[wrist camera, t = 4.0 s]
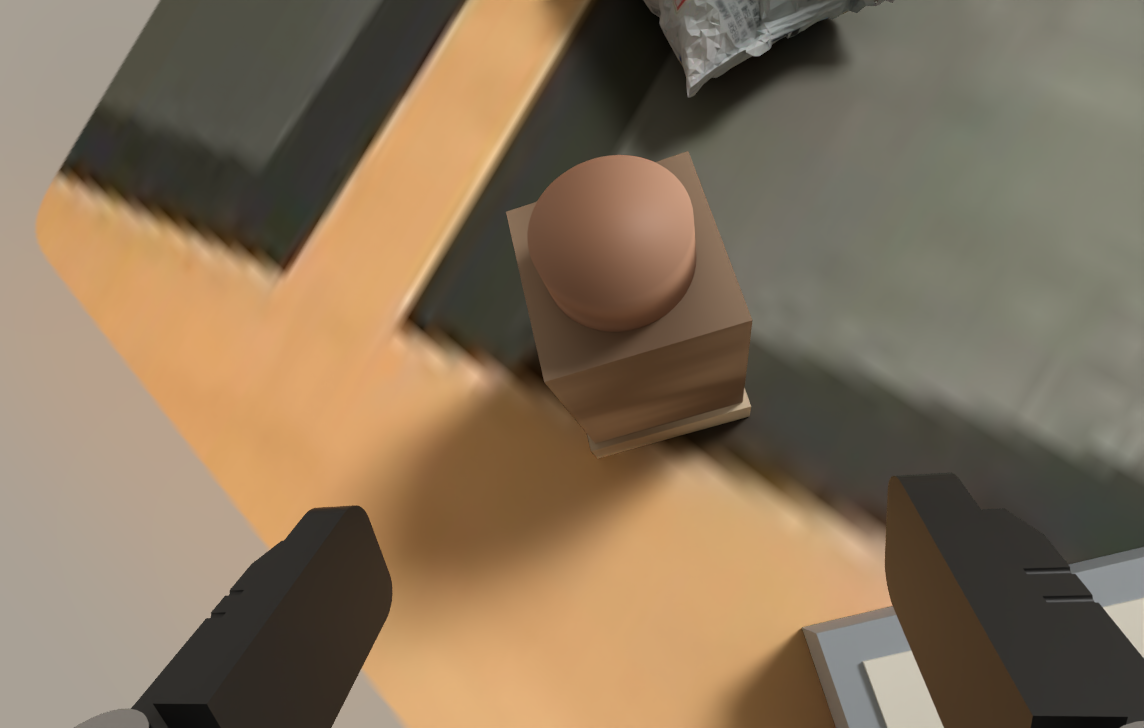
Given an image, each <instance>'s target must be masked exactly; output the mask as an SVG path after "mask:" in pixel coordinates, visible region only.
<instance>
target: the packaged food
mask: <svg viewBox="0 0 1144 728" xmlns="http://www.w3.org/2000/svg"><path fill="white" fill-rule="evenodd" d="M643 1H644V2H645V4H646V5H647V6H648V8H649V9H650V11H651V12H652V13H653V14H655V15H656V16H658V17H659V18H660V21H659V24H660V26H661V29H662V31H663V33H664V35H665V37H666V38H667V40H668V42H669V44H670V46H671V47H672V49H673V51H674V53H675V55H676V57H677V58H678V60H679V61H680V63H681V65H682V66H683V68H684V72H685V75H686V87H687V95H688V98H689V97H692V96H694V95H695V94H696V93H697V92H698V91H699V89H700V88H701V87H702V85H703V84H704V83H706V82H707V81H708V80H709V79H710V78H717V77H719V76H721V75H722V74H724V73H725V72H727V71H728V70H729V69H731V68H732V67H734V66H736V65H738V64H739V63H741V62H743V61H745V60H746V59H748V58H750V57H752V56H760V55H762V54H763V53H765V52H766V51H768V50H769V49H770V48H771V46H772V44H773V43H775V42H776V41H778V40H780V39H782V38H784V37H787V39H788V38H790V37H793V36H795V35H797V34H798V33H800V32H801V31H804V30H805V29H807V28H808V27H809V26H811V25H813V24H814V23H816V22H818V21H821V20H824V19H827V18H830V19H834V18H836V17H838V16H839V15H841V14H844V13H846V12H848V11H852V12H856V13H858V12H859V11H860V10H861V9H862V8H864V7H865V6H876V5H879V4H881V3H882V2H884V1H885V0H643ZM875 1H877V3H875ZM886 1H889V2H891V3H893V1H894V0H886Z"/></svg>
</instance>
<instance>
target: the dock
mask: <svg viewBox="0 0 1144 728" xmlns="http://www.w3.org/2000/svg"><path fill="white" fill-rule="evenodd" d="M1069 566H1070V571H1071V573H1072V574H1076V575H1077V576H1078V577H1079V579H1080V580H1081V581H1082V582H1083V584H1084V585H1085V586H1086V587H1087V589H1088V590H1089V591H1090V592H1091V594H1092V595H1093V600H1094V602H1095V603H1097V602H1099V603H1100V605H1101V606H1102V607H1103V608H1104V610H1105V611H1106V612H1107V613H1108V615H1109V616H1110V617H1111V618H1112V620H1113V621H1114V622H1115V623H1116V625H1117V626H1118V627H1119V628H1120V630H1121V631H1122V632H1123V633H1124V634H1125V636H1126V637H1127V638H1128V639H1129V641H1130V642H1131V643H1132V644H1133V646H1134V647H1135V648H1136V649H1137V651H1138V652H1139V653H1140V654H1141V656H1142V657H1143V658H1144V547H1142V548H1137V549H1133V550H1129V551H1125V552H1120V553H1116V554H1112V555H1108V556H1103V557H1099V558H1095V559H1091V560H1086V561H1082V562H1078V563H1074V564H1069ZM802 630H803V633H804V636H805V638H806V641H807V644H808V647H809V650H810V653H811V656H812V659H813V662H814V665H815V668H816V671H817V674H818V677H819V680H820V683H821V685H822V688H823V691H824V694H825V697H826V700H827V703H828V706H829V709H830V712H831V715H832V718H833V721H834V724H835V727H836V728H944V727H943V725H942V722H941V720H940V718H939V715H938V713H937V710H936V708H935V706H934V703H933V701H932V699H931V696H930V694H929V691H928V689H927V687H926V684H925V682H924V679H923V677H922V675H921V672H920V670H919V668H918V665H917V663H916V660H915V658H914V656H913V653H912V651H911V649H910V646H909V644H908V641H907V639H906V637H905V634H904V632H903V629H902V627H901V625H900V622H899V620H898V618H897V615H896V613H895V610H894V608H893V606H891V607H887V608H882V609H878V610H874V611H870V612H865V613H861V614H857V615H853V616H848V617H844V618H840V619H836V620H831V621H827V622H823V623H819V624H814V625H810V626H806V627H802Z"/></svg>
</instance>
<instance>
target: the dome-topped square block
mask: <svg viewBox="0 0 1144 728" xmlns="http://www.w3.org/2000/svg"><path fill="white" fill-rule="evenodd" d="M506 214H507V218H508V223H509V227H510V232H511V236H512V241H513V245H514V249H515V254H516V258H517V263H518V267H519V272H520V276H521V281H522V285H523V290H524V294H525V299H526V303H527V307H528V312H529V316H530V321H531V325H532V330H533V334H534V339H535V343H536V348H537V352H538V357H539V361H540V365H541V370H542V374H543V379H544V382H545V384H546V385H547V386H548V387H549V388H550V390H551V391H552V392H553V393H554V394H555V396H556V397H557V398H558V399H559V400H560V402H561V403H562V404H563V405H564V406H565V408H566V409H567V410H568V411H569V412H570V414H571V415H572V416H573V417H574V419H575V420H576V421H577V422H578V423H579V425H580V426H581V427H582V428H583V429H584V431H585V432H586V433H587V437H588V441H589V445H590V449H591V452H592V453H593V454H594V455H595V456H596V457H597V459H598V458H602V457H605V456H609V455H613V454H616V453H620V452H623V451H627V450H631V449H634V448H638V447H641V446H645V445H649V444H652V443H656V442H659V441H663V440H666V439H670V438H674V437H677V436H681V435H684V434H688V433H692V432H695V431H699V430H702V429H706V428H710V427H713V426H717V425H720V424H724V423H728V422H731V421H735V420H738V419H742V418H745V417H749V416H750V410H751V405H750V402H749V399H748V396H747V394H746V391H745V388H744V386H745V378H746V370H747V361H748V353H749V344H750V336H751V327H752V318H751V315H750V313H749V310H748V308H747V305H746V302H745V300H744V297H743V294H742V292H741V289H740V286H739V284H738V281H737V278H736V276H735V273H734V271H733V268H732V265H731V263H730V260H729V257H728V255H727V252H726V249H725V247H724V244H723V242H722V239H721V236H720V234H719V231H718V228H717V226H716V223H715V220H714V218H713V215H712V212H711V210H710V207H709V205H708V202H707V199H706V197H705V194H704V191H703V189H702V186H701V183H700V181H699V178H698V176H697V173H696V170H695V168H694V165H693V162H692V160H691V157H690V154H689V152H688V151H687V152H684V153H681V154H678V155H675V156H672V157H669V158H666V159H663V160H660V161H657V162H653V161H651V160H648V159H644V158H641V157H635V156H628V155H613V156H605V157H599V158H595V159H592V160H588V161H586V162H583V163H581V164H579V165H577V166H575V167H573V168H571V169H569V170H568V171H566V172H565V173H563V174H562V175H560V176H559V177H558V178H557V179H556V180H554V181H553V182H552V183H551V184H550V185H549V186H548V187H547V189H546V190H545V191H544V192H543V194H542V195H541V196H540V198H539V200H538V201H537V202H535V203H532V204H529V205H526V206H523V207H520V208H517V209H514V210H511V211H508V212H506Z"/></svg>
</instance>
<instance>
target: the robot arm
mask: <svg viewBox="0 0 1144 728" xmlns="http://www.w3.org/2000/svg"><path fill="white" fill-rule="evenodd" d="M885 572H886V580H887V586H888V590H889V595H890V598H891V602H892V605H893V608H894V610H895V613H896V615H897V618H898V620H899V622H900V625H901V627H902V629H903V632H904V634H905V637H906V639H907V641H908V644H909V646H910V649H911V651H912V653H913V656H914V658H915V660H916V663H917V665H918V668H919V670H920V672H921V675H922V677H923V679H924V682H925V684H926V687H927V689H928V691H929V694H930V696H931V699H932V701H933V703H934V706H935V708H936V710H937V713H938V715H939V718H940V720H941V722H942V725H943V727H944V728H1144V658H1143V657H1142V656H1141V654H1140V653H1139V652H1138V651H1137V649H1136V648H1135V647H1134V646H1133V644H1132V643H1131V642H1130V641H1129V639H1128V638H1127V637H1126V636H1125V634H1124V633H1123V632H1122V631H1121V630H1120V628H1119V627H1118V626H1117V625H1116V623H1115V622H1114V621H1113V620H1112V618H1111V617H1110V616H1109V615H1108V613H1107V612H1106V611H1105V610H1104V608H1103V607H1102V606H1101V605H1100V603H1099V602H1097V603H1095V602H1094V600H1093V595H1092V594H1091V592H1090V591H1089V590H1088V589H1087V587H1086V586H1085V585H1084V584H1083V582H1082V581H1081V580H1080V579H1079V577H1078V576H1077V575H1076V574H1072V573H1071V571H1070V566H1069V565H1068V564H1067V563H1066V561H1065V560H1064V559H1063V558H1062V556H1061V555H1060V554H1059V553H1058V551H1057V550H1056V549H1055V548H1054V546H1053V545H1052V544H1051V543H1050V541H1049V540H1048V539H1047V538H1046V537H1045V535H1044V534H1042V533H1041V532H1039V531H1038V530H1036V529H1035V528H1033V527H1032V526H1030V525H1029V524H1027V523H1026V522H1024V521H1022V520H1021V519H1019V518H1018V517H1016V516H1015V515H1013V514H1012V513H1010V512H1009V511H1007V510H1006V509H987V510H981V509H980V507H979V506H978V505H977V503H976V502H975V500H974V499H973V498H972V496H971V495H970V493H969V492H968V491H967V489H966V488H965V486H964V485H963V484H962V482H961V481H960V479H959V478H958V477H957V476H956V475H955V474H953V473H938V474H920V475H903V476H892V477H891V479H890V481H889V485H888V499H887V522H886V546H885ZM391 602H392V582H391V577H390V574H389V571H388V569H387V566H386V563H385V561H384V558H383V555H382V553H381V550H380V547H379V544H378V542H377V539H376V536H375V534H374V531H373V528H372V526H371V523H370V520H369V518H368V515H367V513H366V512H365V510H364V509H363V508H361V507H360V506H340V507H323V508H313V509H311V510H309V511H308V512H307V513H306V514H305V515H304V516H303V518H302V519H301V520H300V521H299V523H298V524H297V525H296V526H295V528H294V529H293V530H292V531H291V533H290V534H289V535H288V536H287V538H286V539H285V540H284V541H281V542H280V543H278V544H277V545H276V546H274V547H273V548H272V549H271V550H269V551H268V552H267V553H265V554H264V555H263V556H261V557H260V558H259V559H258V560H256V561H255V562H254V563H252V564H251V566H250V567H249V568H248V569H247V570H246V571H245V573H244V574H243V575H242V576H241V577H240V579H239V580H238V581H237V582H236V584H235V585H234V586H233V587H232V588H231V590H230V594H229V596H225V597H224V598H223V599H222V600H221V602H220V603H219V604H218V605H217V606H216V607H215V609H214V610H213V611H212V612H211V618H207V619H205V621H204V622H203V623H202V624H201V625H200V627H199V628H198V629H197V630H196V631H195V633H194V634H193V635H192V636H191V637H190V639H189V640H188V641H187V642H186V643H185V645H184V646H183V647H182V648H181V649H180V651H179V652H178V653H177V654H176V655H175V657H174V658H173V659H172V660H171V661H170V663H169V664H168V665H167V666H166V667H165V669H164V670H163V671H162V672H161V673H160V675H159V676H158V677H157V678H156V679H155V681H154V682H153V683H152V684H151V685H150V687H149V688H148V689H147V690H146V691H145V693H144V694H143V695H142V696H141V698H140V699H139V700H138V701H137V702H136V703H135V705H134V706H133V707H132V708H131V709H118V710H113V711H110V712H107V713H103V714H100V715H98V716H95V717H93V718H91V719H89V720H87V721H85V722H83V723H81V724H79V725H77V726H76V727H74V728H331V727H332V725H333V723H334V721H335V719H336V717H337V715H338V713H339V711H340V709H341V707H342V706H343V704H344V702H345V700H346V698H347V696H348V694H349V691H350V690H351V688H352V686H353V684H354V682H355V680H356V678H357V676H358V674H359V672H360V670H361V668H362V666H363V664H364V662H365V660H366V658H367V656H368V654H369V652H370V650H371V648H372V646H373V644H374V642H375V640H376V638H377V636H378V634H379V632H380V631H381V629H382V627H383V625H384V623H385V621H386V619H387V616H388V614H389V611H390V607H391Z"/></svg>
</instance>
